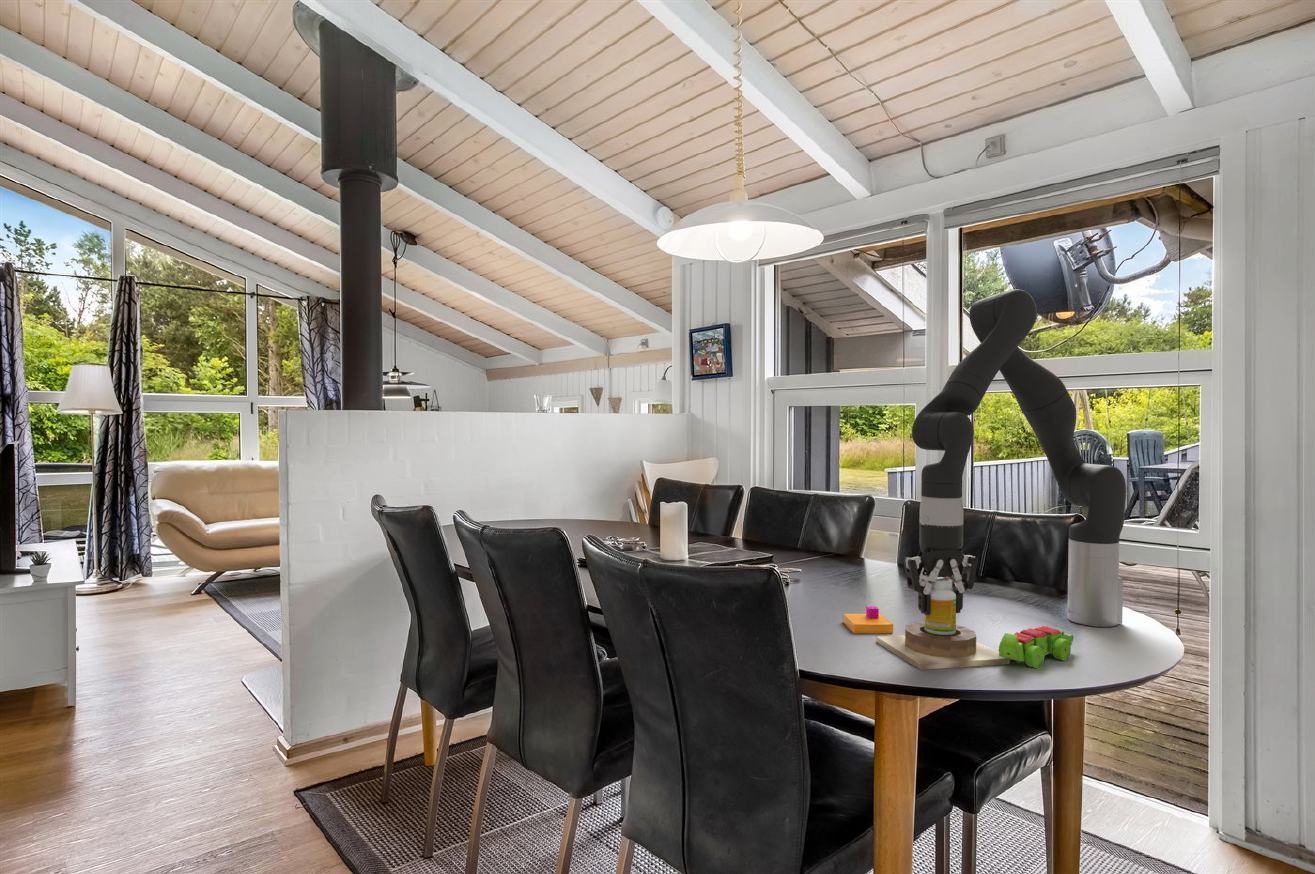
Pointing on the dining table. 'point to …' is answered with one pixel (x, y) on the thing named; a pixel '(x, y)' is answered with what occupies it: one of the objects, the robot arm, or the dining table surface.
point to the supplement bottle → (941, 608)
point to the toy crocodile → (1036, 645)
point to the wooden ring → (940, 641)
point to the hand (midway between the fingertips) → (940, 612)
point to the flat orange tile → (868, 622)
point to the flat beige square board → (932, 662)
